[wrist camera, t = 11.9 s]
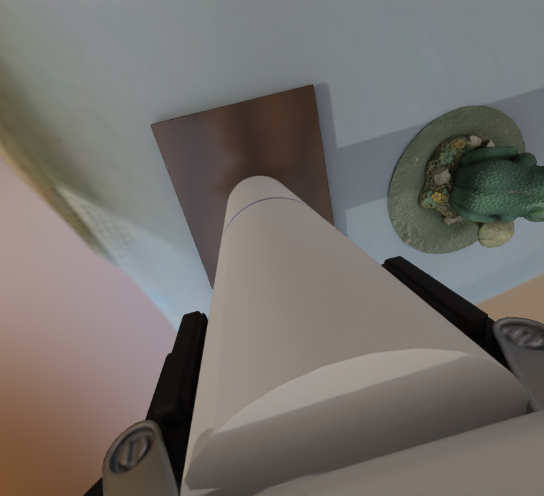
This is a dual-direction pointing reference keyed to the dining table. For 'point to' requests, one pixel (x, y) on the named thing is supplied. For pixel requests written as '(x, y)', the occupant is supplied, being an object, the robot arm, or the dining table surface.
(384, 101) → the dining table surface
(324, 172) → the board
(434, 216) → the frog figurine
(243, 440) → the cylindrical container
